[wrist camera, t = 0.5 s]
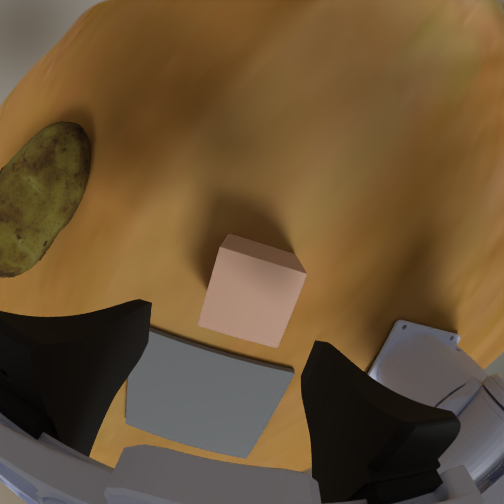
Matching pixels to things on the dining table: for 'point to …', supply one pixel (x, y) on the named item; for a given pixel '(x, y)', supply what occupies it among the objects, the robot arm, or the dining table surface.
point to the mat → (203, 395)
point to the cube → (252, 291)
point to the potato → (41, 194)
